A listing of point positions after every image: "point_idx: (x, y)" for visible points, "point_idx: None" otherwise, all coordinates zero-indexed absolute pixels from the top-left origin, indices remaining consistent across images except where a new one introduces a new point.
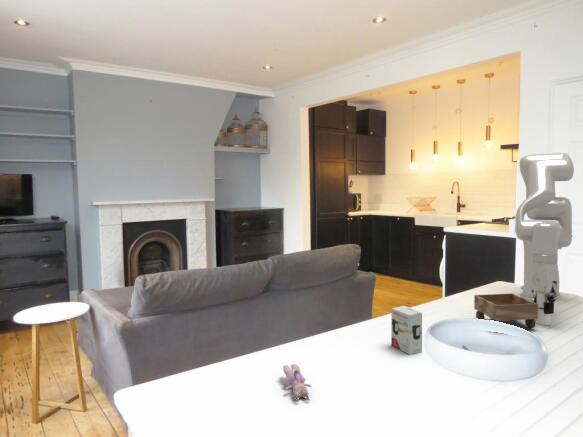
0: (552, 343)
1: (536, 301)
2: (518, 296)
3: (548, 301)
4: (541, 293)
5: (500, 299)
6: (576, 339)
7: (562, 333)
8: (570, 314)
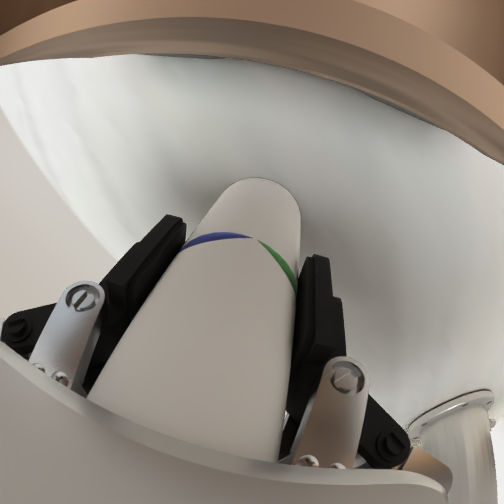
0: None
1: (302, 321)
2: (485, 89)
3: (69, 296)
4: (106, 396)
5: None
6: (40, 164)
7: (92, 168)
8: None
